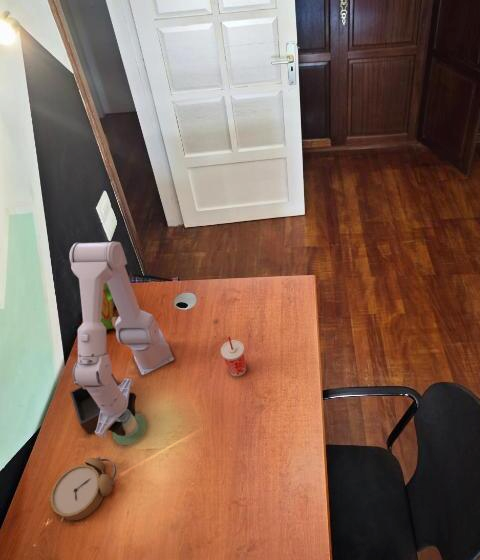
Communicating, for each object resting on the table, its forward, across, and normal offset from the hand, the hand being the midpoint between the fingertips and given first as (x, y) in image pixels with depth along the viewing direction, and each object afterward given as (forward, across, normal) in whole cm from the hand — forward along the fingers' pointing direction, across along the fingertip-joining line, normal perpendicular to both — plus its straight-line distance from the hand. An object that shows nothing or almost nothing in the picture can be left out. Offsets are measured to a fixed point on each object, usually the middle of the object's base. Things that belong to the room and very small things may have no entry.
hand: (126, 424), depth 119 cm
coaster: (+3, 0, 0) cm, 3 cm away
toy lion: (+3, -33, -23) cm, 40 cm away
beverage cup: (+3, -22, +22) cm, 31 cm away
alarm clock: (+3, +16, -3) cm, 16 cm away
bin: (+3, -4, -10) cm, 11 cm away
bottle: (+2, 0, 0) cm, 2 cm away
